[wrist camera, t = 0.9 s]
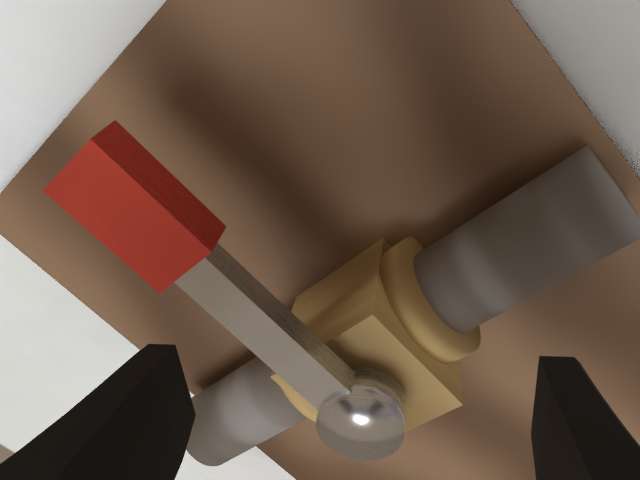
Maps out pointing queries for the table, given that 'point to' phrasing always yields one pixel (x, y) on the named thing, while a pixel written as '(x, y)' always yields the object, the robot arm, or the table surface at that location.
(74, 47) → the table surface
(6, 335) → the table surface
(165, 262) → the valve lever
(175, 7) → the valve board
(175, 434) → the robot arm
